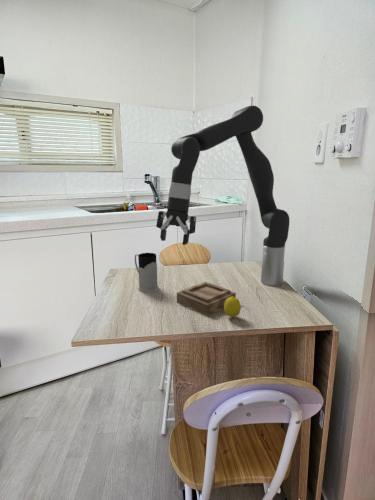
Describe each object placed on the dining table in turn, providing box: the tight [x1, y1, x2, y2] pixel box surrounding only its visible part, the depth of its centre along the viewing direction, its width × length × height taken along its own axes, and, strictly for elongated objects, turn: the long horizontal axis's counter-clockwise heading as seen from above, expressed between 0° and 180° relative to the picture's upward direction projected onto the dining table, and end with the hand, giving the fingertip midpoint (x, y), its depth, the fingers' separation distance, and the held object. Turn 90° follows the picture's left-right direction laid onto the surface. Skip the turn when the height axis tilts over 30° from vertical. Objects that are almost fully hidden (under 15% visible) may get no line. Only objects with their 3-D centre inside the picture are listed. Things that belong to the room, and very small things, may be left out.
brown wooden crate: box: [176, 281, 237, 316], centre depth 119 cm, size 16×16×5 cm
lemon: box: [223, 296, 241, 319], centre depth 106 cm, size 6×6×8 cm
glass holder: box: [134, 252, 159, 293], centre depth 134 cm, size 9×14×15 cm, turn 41°
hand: (173, 242), depth 111 cm, fingers open, 8 cm apart
